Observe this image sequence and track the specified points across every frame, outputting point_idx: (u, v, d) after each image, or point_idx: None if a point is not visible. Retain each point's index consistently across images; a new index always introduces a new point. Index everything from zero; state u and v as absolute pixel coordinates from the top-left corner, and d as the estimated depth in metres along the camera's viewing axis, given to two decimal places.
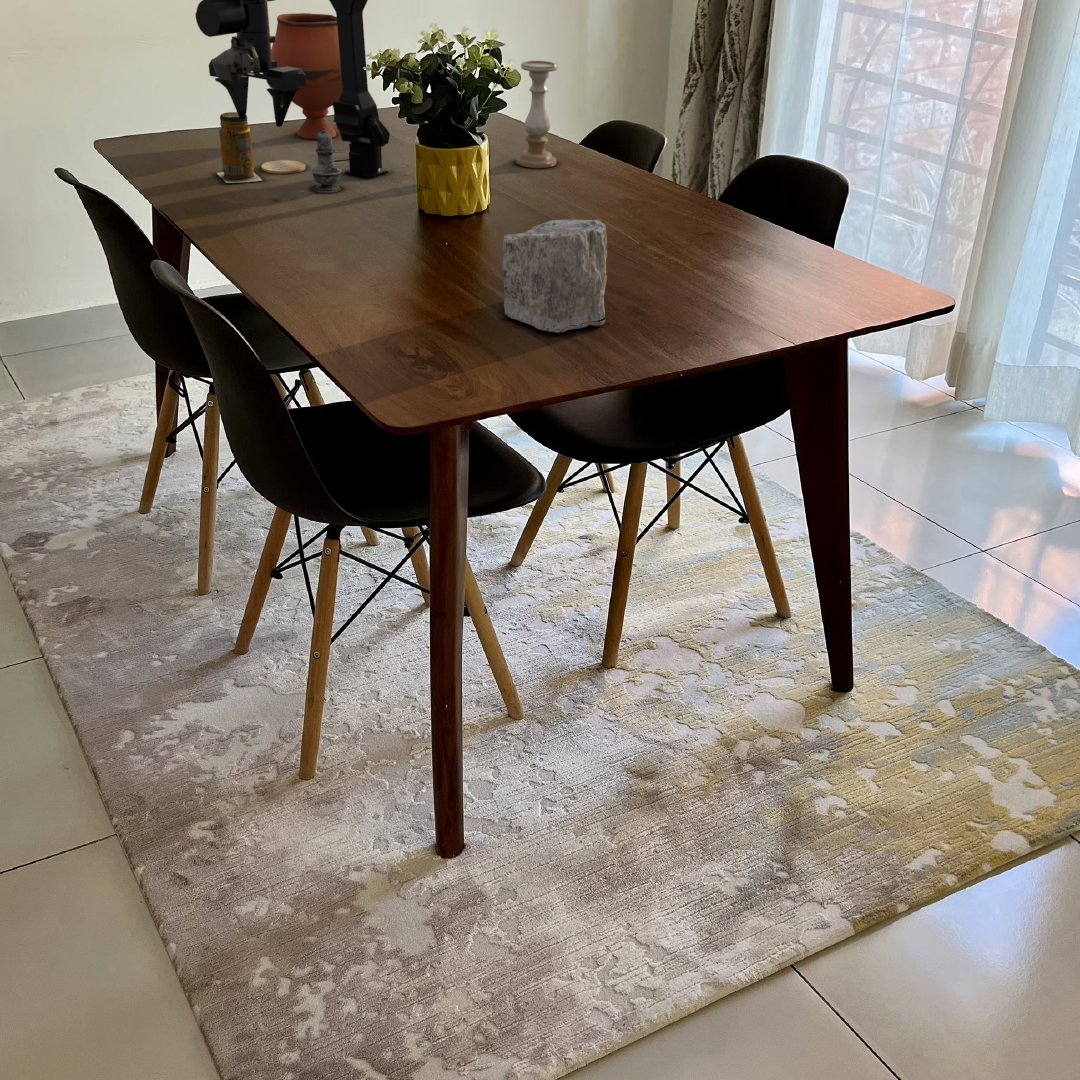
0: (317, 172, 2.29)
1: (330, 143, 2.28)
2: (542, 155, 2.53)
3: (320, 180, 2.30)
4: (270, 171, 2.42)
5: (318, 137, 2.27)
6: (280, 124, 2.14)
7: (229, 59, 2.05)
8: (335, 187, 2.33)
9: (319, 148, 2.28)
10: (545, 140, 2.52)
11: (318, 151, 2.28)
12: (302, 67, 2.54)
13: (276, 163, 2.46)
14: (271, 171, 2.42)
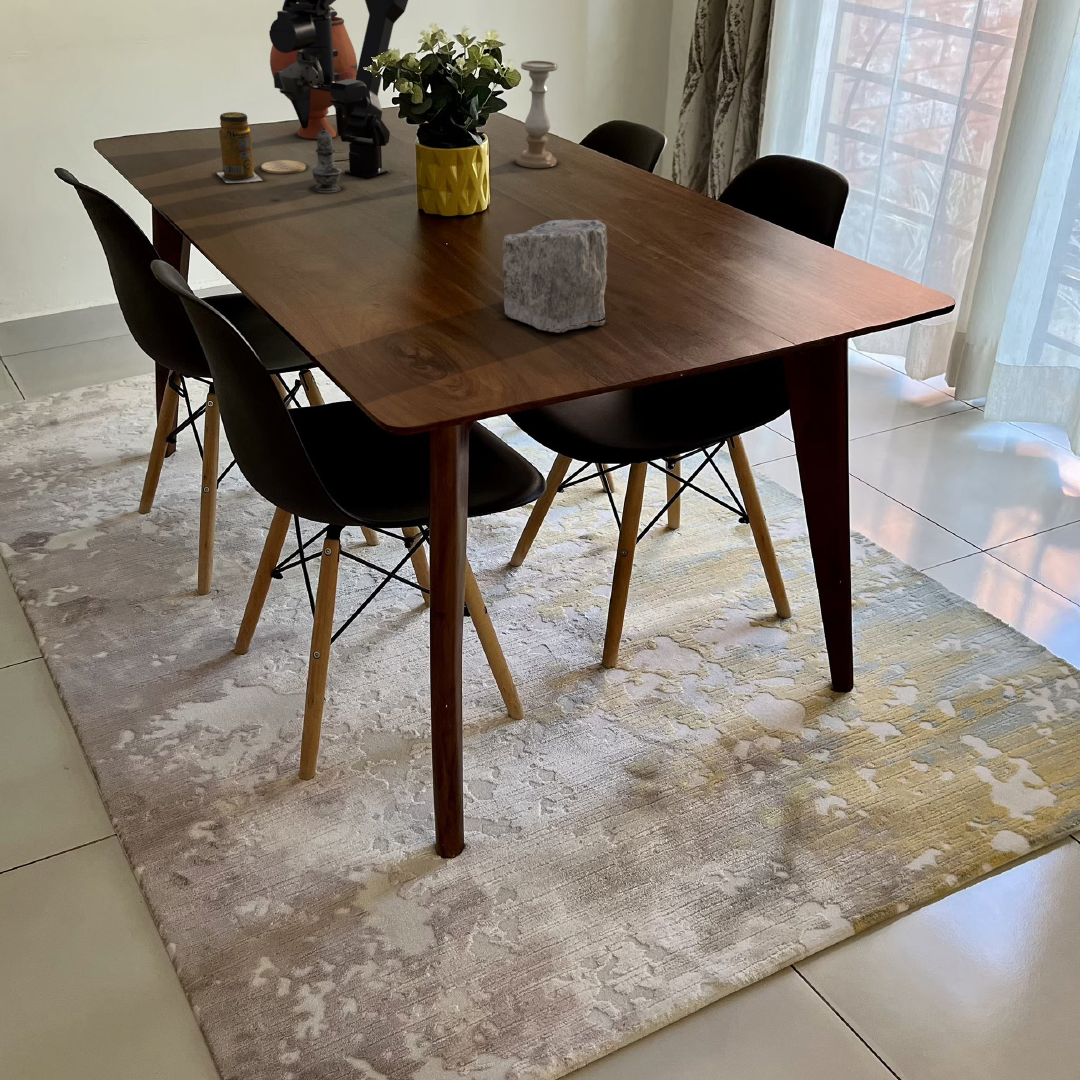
0: (317, 172, 2.29)
1: (330, 143, 2.28)
2: (542, 155, 2.53)
3: (320, 180, 2.30)
4: (270, 171, 2.42)
5: (318, 137, 2.27)
6: (342, 133, 2.25)
7: (295, 73, 2.16)
8: (335, 187, 2.33)
9: (319, 148, 2.28)
10: (545, 140, 2.52)
11: (318, 151, 2.28)
12: None
13: (276, 163, 2.46)
14: (271, 171, 2.42)
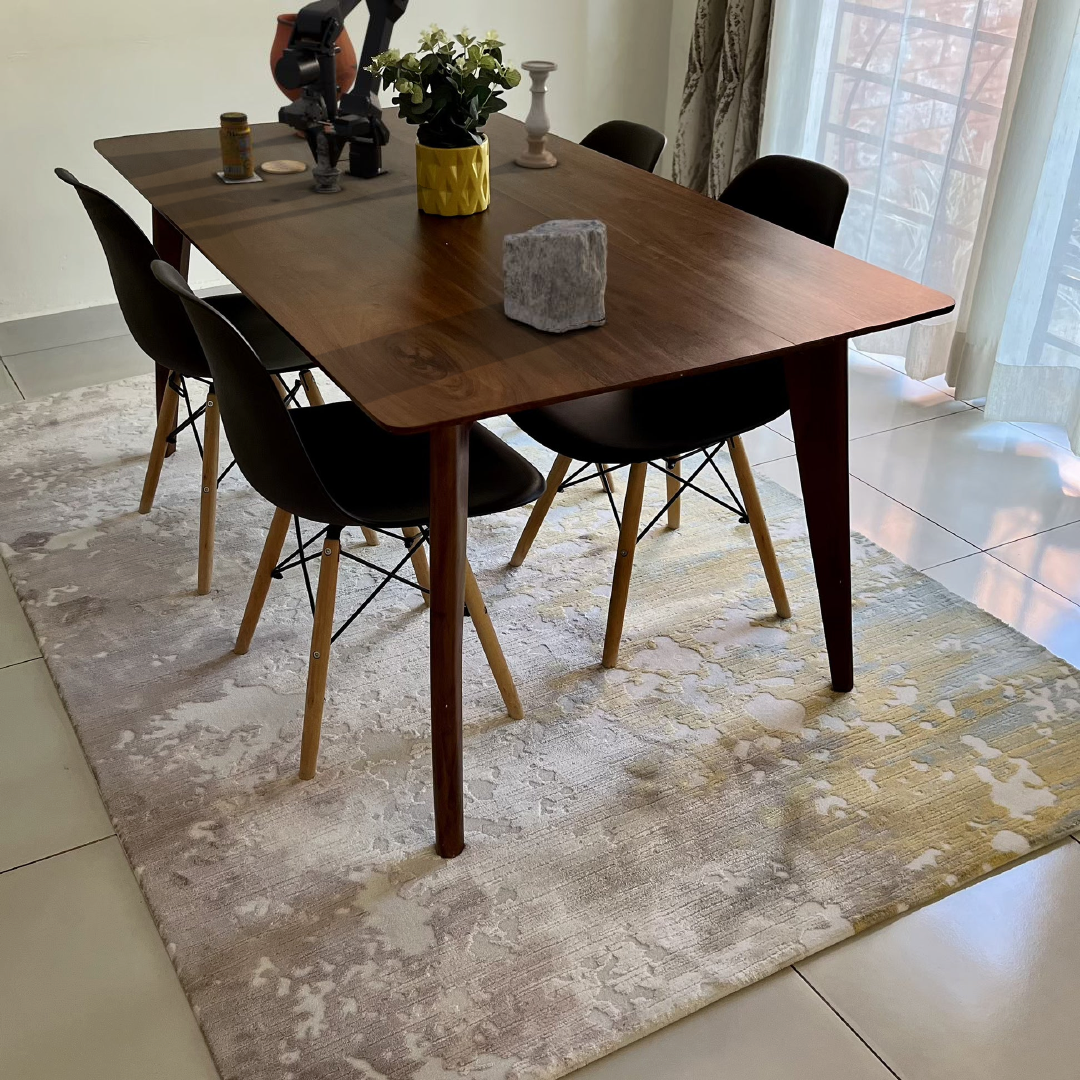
0: (317, 172, 2.29)
1: None
2: (542, 155, 2.53)
3: (320, 180, 2.30)
4: (270, 171, 2.42)
5: (318, 137, 2.27)
6: (334, 165, 2.30)
7: (300, 109, 2.19)
8: (335, 187, 2.33)
9: (319, 148, 2.28)
10: (545, 140, 2.52)
11: (318, 151, 2.28)
12: None
13: (276, 163, 2.46)
14: (271, 171, 2.42)
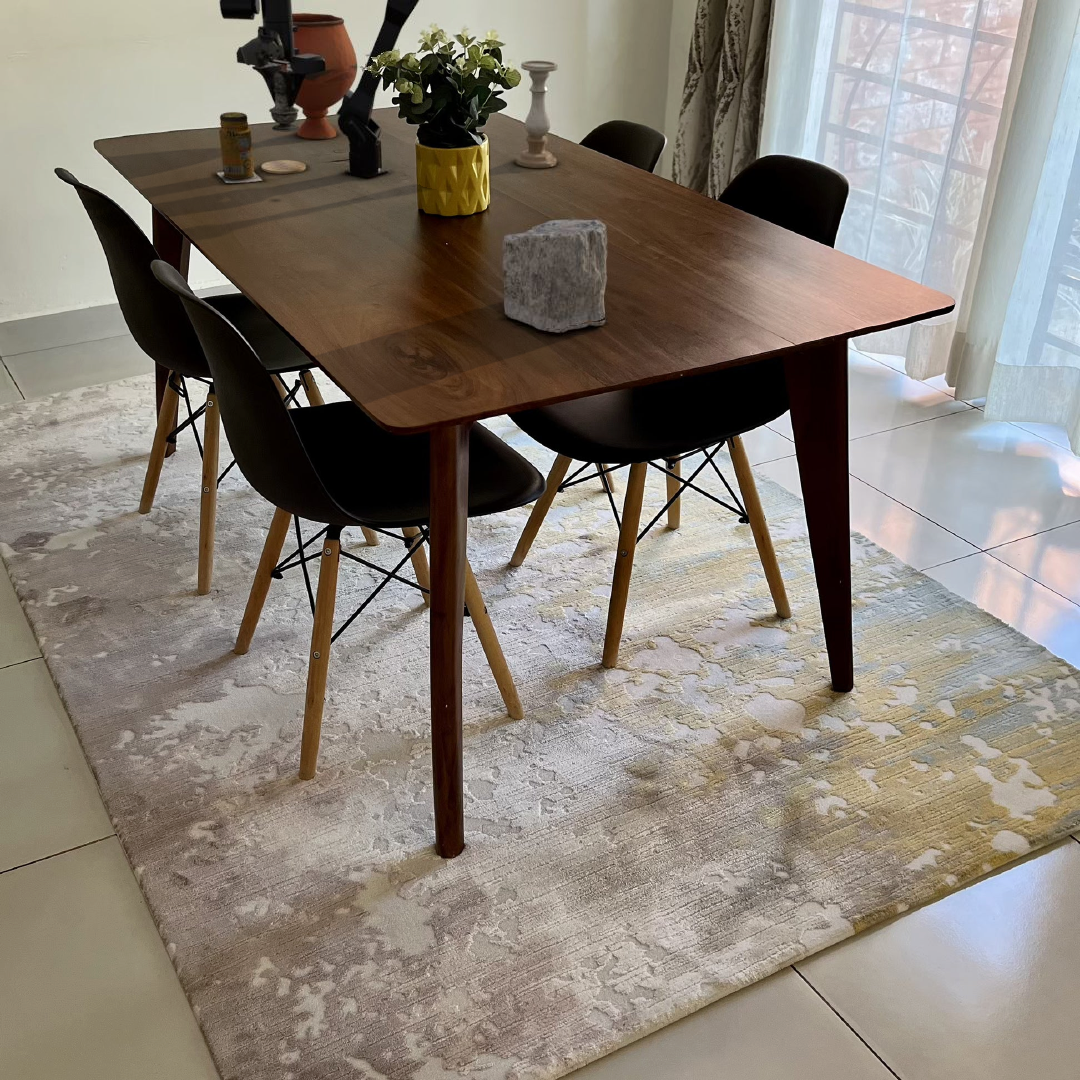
0: (275, 111, 2.36)
1: None
2: (542, 155, 2.53)
3: (278, 119, 2.36)
4: (270, 171, 2.42)
5: (275, 76, 2.33)
6: (292, 104, 2.36)
7: (256, 47, 2.26)
8: (293, 126, 2.39)
9: (276, 87, 2.34)
10: (545, 140, 2.52)
11: (275, 90, 2.35)
12: None
13: (276, 163, 2.46)
14: (271, 171, 2.42)
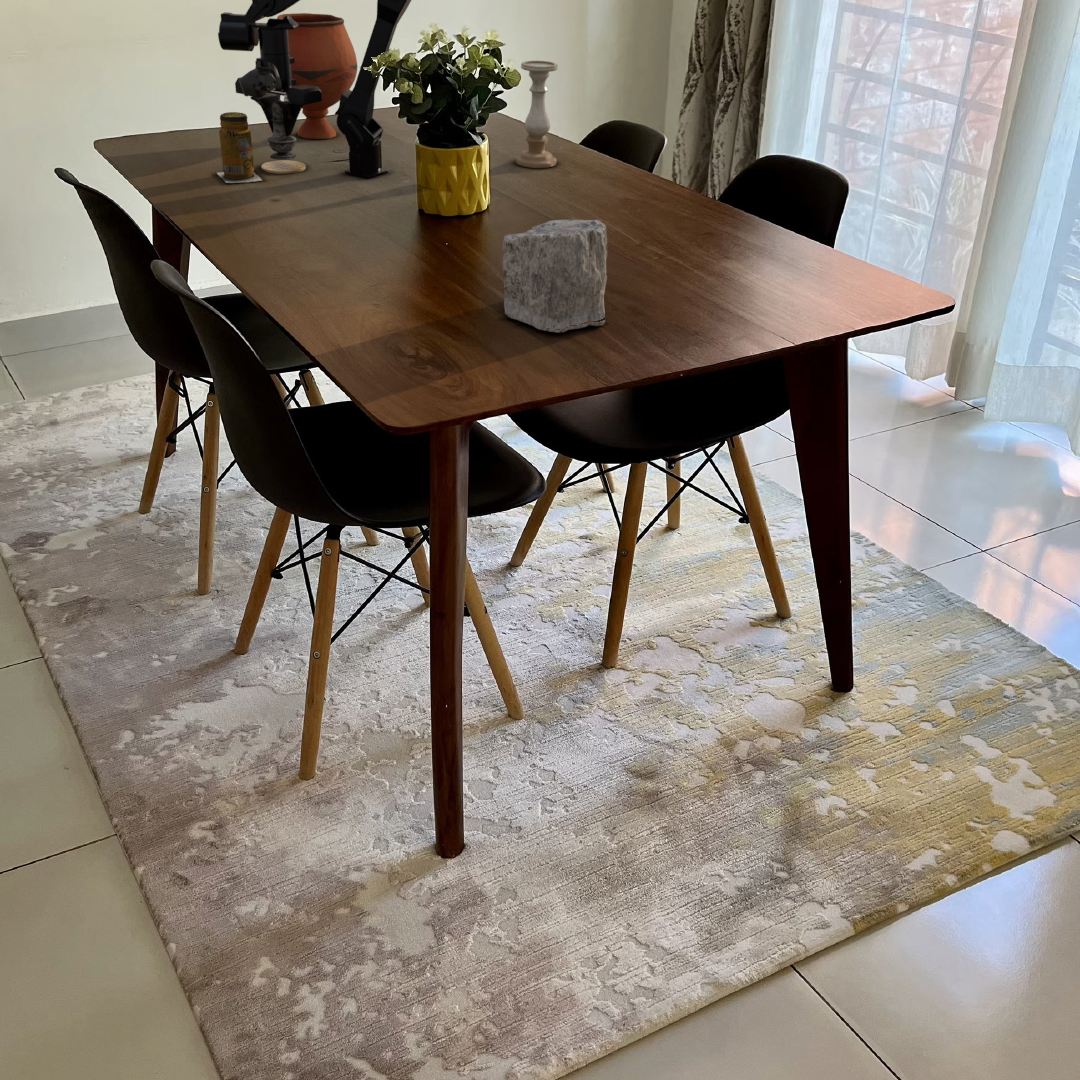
0: (272, 140, 2.40)
1: None
2: (542, 155, 2.53)
3: (276, 148, 2.41)
4: (270, 171, 2.42)
5: (273, 106, 2.38)
6: (289, 133, 2.41)
7: (254, 78, 2.30)
8: (290, 155, 2.44)
9: (274, 117, 2.39)
10: (545, 140, 2.52)
11: (273, 120, 2.39)
12: (302, 67, 2.54)
13: (276, 163, 2.46)
14: (271, 171, 2.42)
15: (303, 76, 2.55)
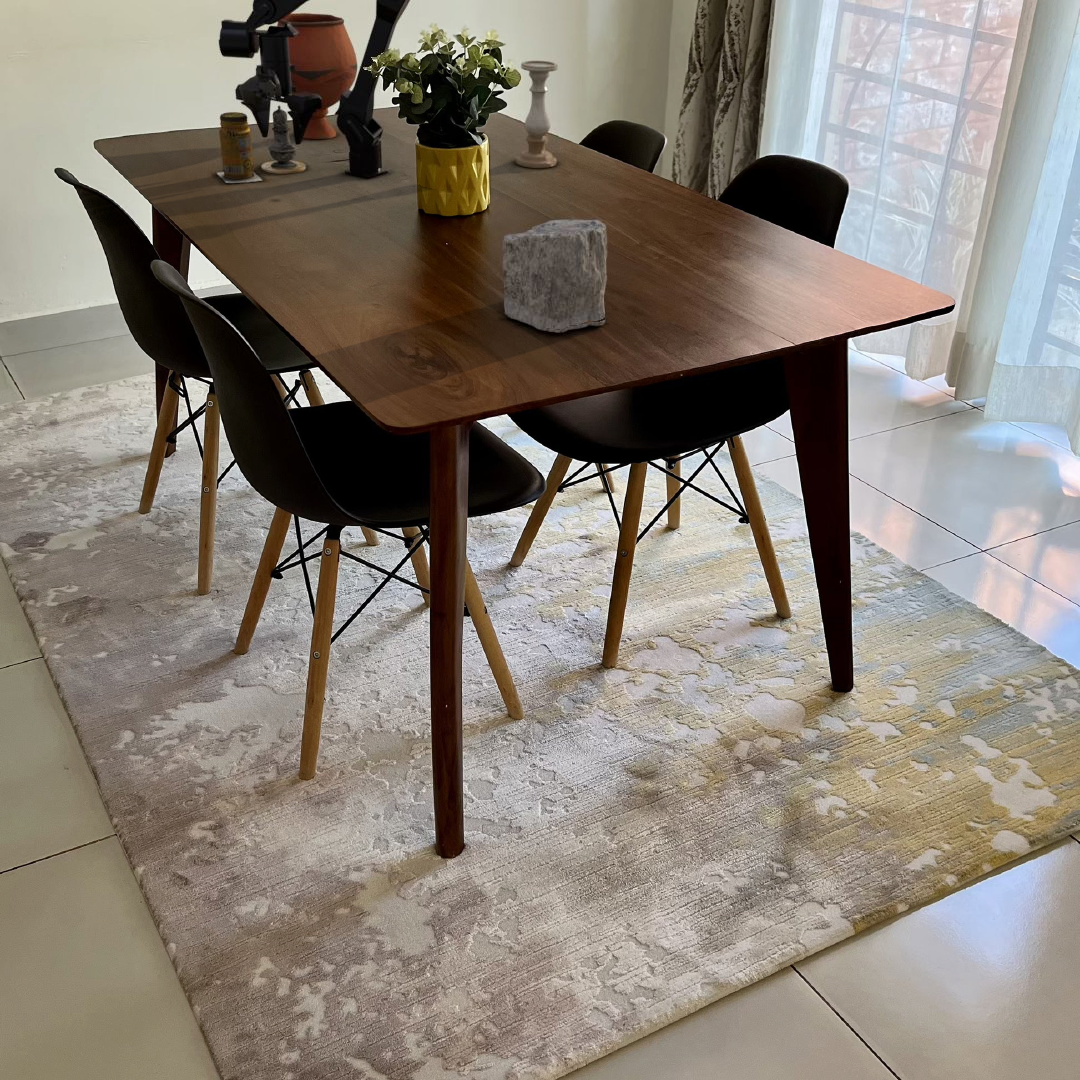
0: (273, 149, 2.41)
1: (285, 121, 2.40)
2: (542, 155, 2.53)
3: (276, 157, 2.42)
4: (270, 171, 2.42)
5: (274, 116, 2.39)
6: (299, 142, 2.40)
7: (254, 85, 2.31)
8: (291, 164, 2.45)
9: (275, 126, 2.40)
10: (545, 140, 2.52)
11: (274, 129, 2.40)
12: (302, 67, 2.54)
13: None
14: (271, 171, 2.42)
15: (303, 76, 2.55)
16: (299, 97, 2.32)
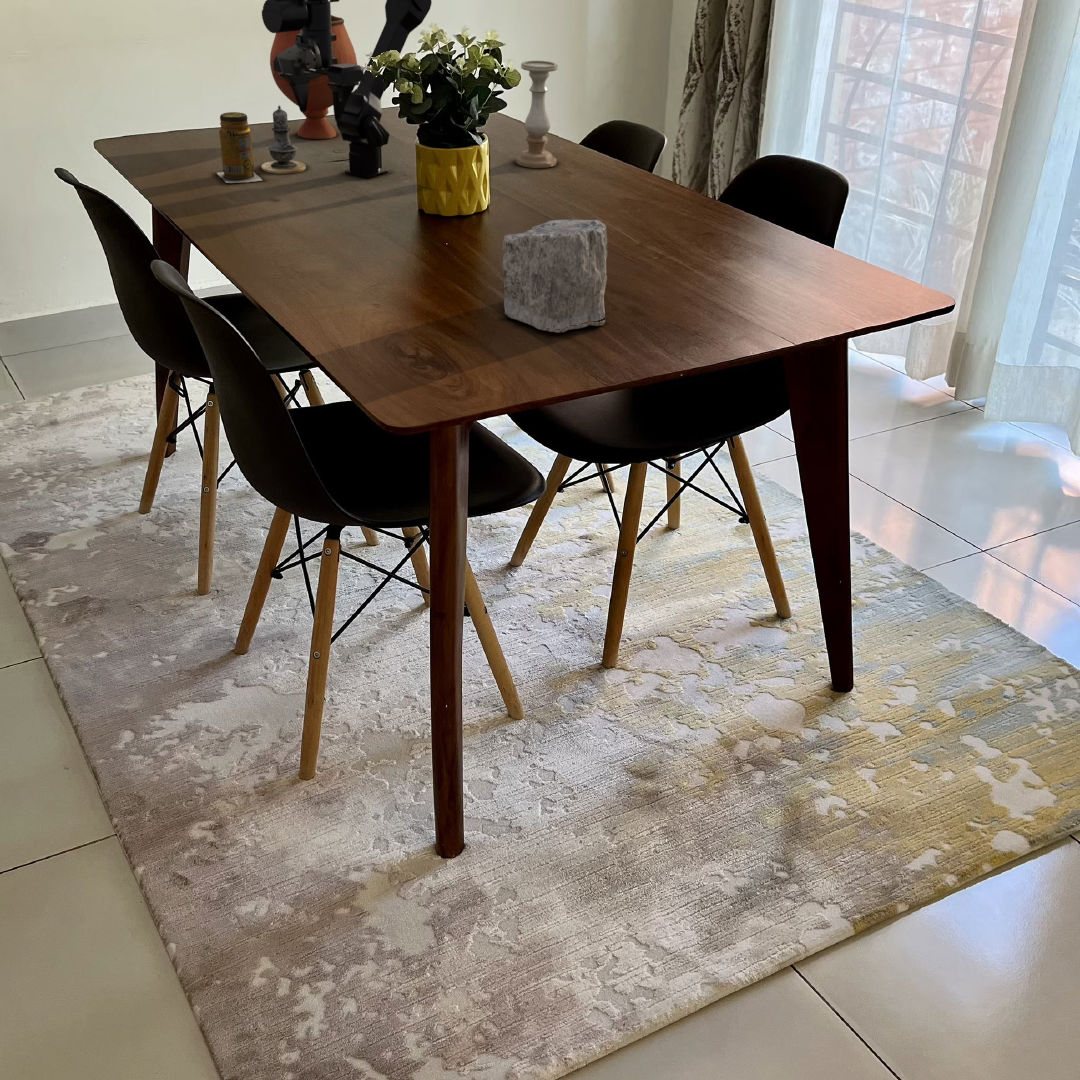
0: (273, 149, 2.41)
1: (285, 121, 2.40)
2: (542, 155, 2.53)
3: (276, 157, 2.42)
4: (270, 171, 2.42)
5: (274, 116, 2.39)
6: (338, 117, 2.27)
7: (293, 55, 2.19)
8: (291, 164, 2.45)
9: (275, 126, 2.40)
10: (545, 140, 2.52)
11: (274, 129, 2.40)
12: None
13: None
14: (271, 171, 2.42)
15: None
16: (340, 68, 2.19)
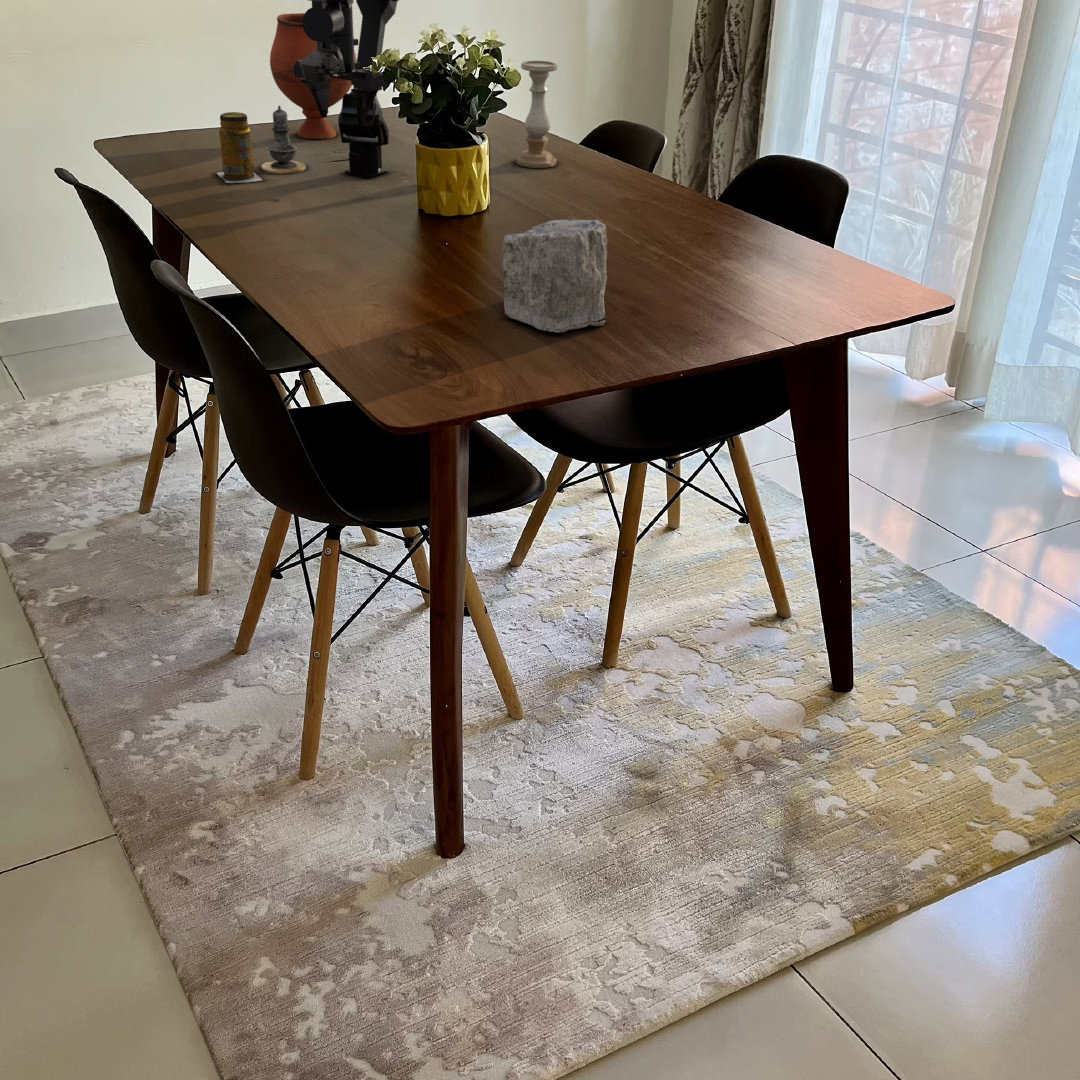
0: (273, 149, 2.41)
1: (285, 121, 2.40)
2: (542, 155, 2.53)
3: (276, 157, 2.42)
4: (270, 171, 2.42)
5: (274, 116, 2.39)
6: (361, 123, 2.24)
7: (316, 61, 2.15)
8: (291, 164, 2.45)
9: (275, 126, 2.40)
10: (545, 140, 2.52)
11: (274, 129, 2.40)
12: None
13: None
14: (271, 171, 2.42)
15: None
16: (364, 73, 2.16)
